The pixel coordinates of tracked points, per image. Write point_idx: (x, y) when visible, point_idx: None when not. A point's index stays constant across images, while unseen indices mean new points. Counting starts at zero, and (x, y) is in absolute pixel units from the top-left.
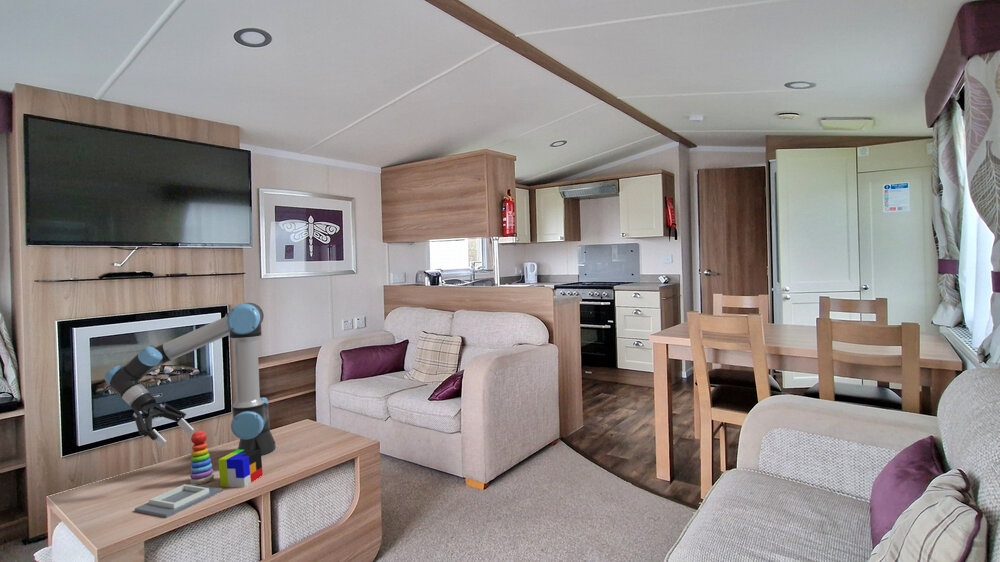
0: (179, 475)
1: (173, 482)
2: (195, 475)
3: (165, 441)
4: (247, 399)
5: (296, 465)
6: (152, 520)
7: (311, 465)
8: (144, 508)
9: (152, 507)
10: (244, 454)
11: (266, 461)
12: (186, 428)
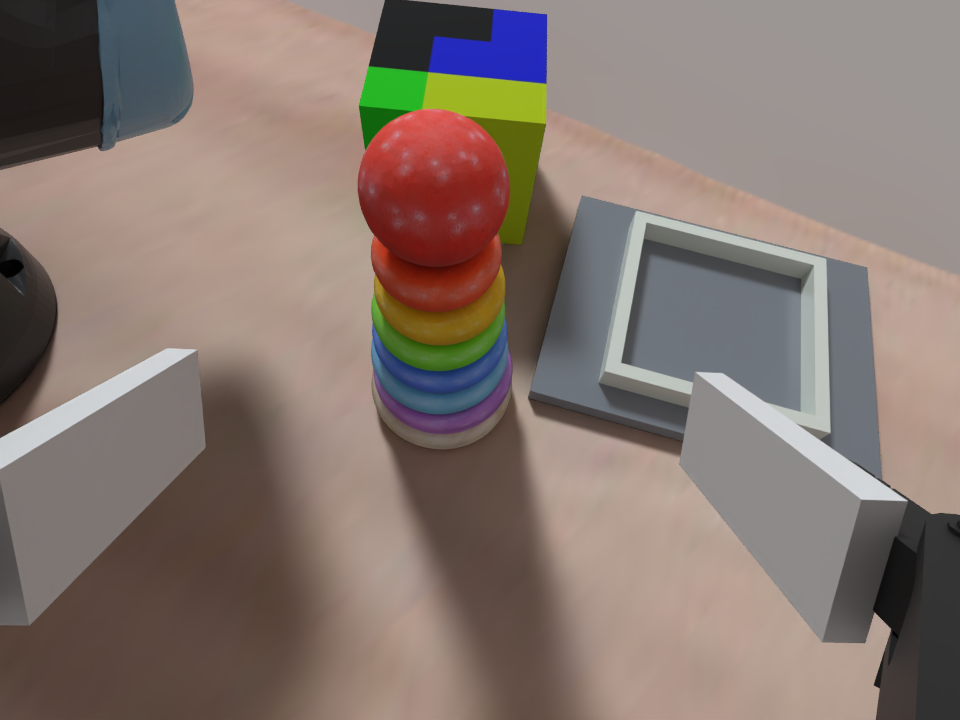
0: (317, 658)
1: (460, 591)
2: (510, 359)
3: (713, 374)
4: None
5: (282, 57)
6: (898, 320)
7: (297, 11)
8: (862, 425)
9: (838, 389)
10: (461, 37)
11: (175, 196)
12: (156, 438)
